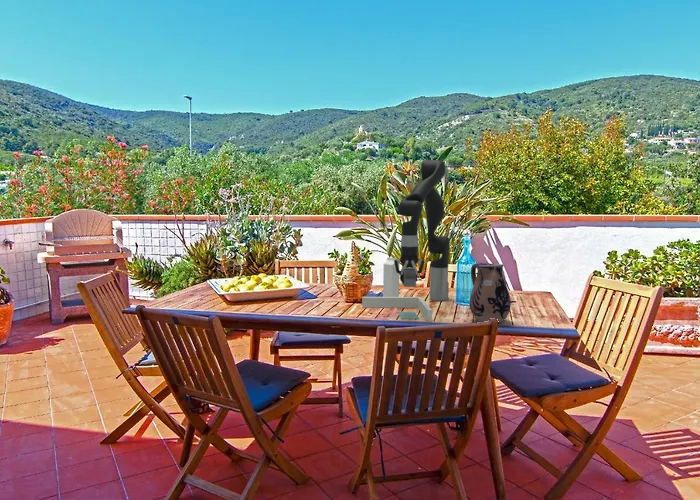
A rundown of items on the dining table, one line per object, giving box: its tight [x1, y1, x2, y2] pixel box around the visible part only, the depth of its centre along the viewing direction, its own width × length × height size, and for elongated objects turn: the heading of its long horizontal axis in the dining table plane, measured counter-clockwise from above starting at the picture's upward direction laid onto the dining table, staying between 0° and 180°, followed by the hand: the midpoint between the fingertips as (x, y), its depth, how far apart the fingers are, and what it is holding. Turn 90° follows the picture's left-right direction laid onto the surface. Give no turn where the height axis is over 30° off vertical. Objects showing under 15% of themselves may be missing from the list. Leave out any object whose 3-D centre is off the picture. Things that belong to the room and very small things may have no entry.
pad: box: [397, 311, 420, 320], centre depth 250 cm, size 8×14×1 cm, turn 1°
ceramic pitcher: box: [468, 262, 512, 324], centre depth 239 cm, size 18×21×25 cm
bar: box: [401, 267, 417, 288], centre depth 248 cm, size 11×5×7 cm, turn 1°
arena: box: [361, 296, 433, 322], centre depth 253 cm, size 29×30×5 cm
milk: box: [382, 257, 401, 297], centre depth 286 cm, size 6×6×22 cm
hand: (408, 282), depth 248 cm, fingers closed on bar, 5 cm apart
